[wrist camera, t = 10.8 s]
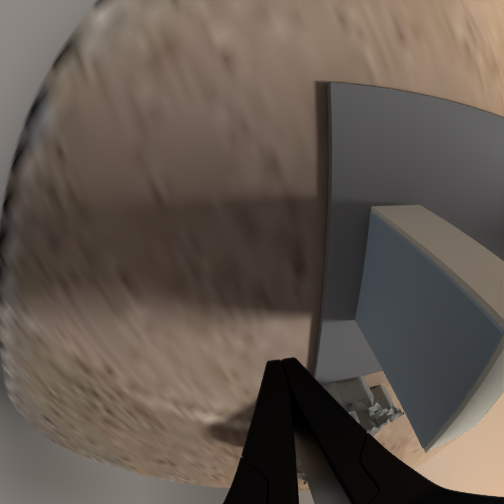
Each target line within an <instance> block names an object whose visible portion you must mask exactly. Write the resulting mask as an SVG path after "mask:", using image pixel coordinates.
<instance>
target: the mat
mask: <svg viewBox="0 0 504 504" xmlns="http://www.w3.org/2000/svg"><path fill="white" fill-rule="evenodd" d="M327 103H328V209H327V233H326V252H325V267H324V280H323V292H322V304H321V314H320V324H319V333H318V342H317V350H316V358H315V365H314V373H313V377H314V378H315V379H316V380H317V381H318V382H319V383H320V384H321V385H324V384H329V383H333V382H338V381H343V380H347V379H351V378H356V377H360V376H364V375H368V374H371V373H375V372H379V371H383V369H382V368H381V366H380V364H379V362H378V360H377V359H376V357H375V355H374V353H373V351H372V349H371V348H370V346H369V344H368V342H367V341H366V339H365V337H364V335H363V334H362V332H361V330H360V328H359V327H358V325H357V323H356V321H355V316H356V311H357V305H358V300H359V294H360V288H361V282H362V276H363V269H364V262H365V255H366V247H367V239H368V230H369V220H370V213H371V207H372V206H393V205H421V206H423V207H424V208H426V209H428V210H429V211H431V212H433V213H434V214H436V215H437V216H439V217H441V218H442V219H444V220H445V221H447V222H448V223H450V224H452V225H453V226H455V227H456V228H458V229H459V230H461V231H462V232H464V233H465V234H467V235H468V236H470V237H471V238H472V239H474V240H475V241H477V242H478V243H480V244H481V245H482V246H484V247H485V248H487V249H488V250H489V251H491V252H492V253H493V254H495V255H496V256H497V257H499V258H500V259H501V260H503V261H504V118H503V117H500V116H497V115H494V114H492V113H489V112H486V111H482V110H479V109H476V108H473V107H469V106H466V105H462V104H459V103H455V102H451V101H447V100H443V99H439V98H435V97H430V96H426V95H421V94H416V93H411V92H405V91H400V90H393V89H387V88H380V87H373V86H364V85H355V84H344V83H331V82H330V83H327Z"/></svg>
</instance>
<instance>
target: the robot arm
mask: <svg viewBox="0 0 504 504" xmlns="http://www.w3.org/2000/svg"><path fill="white" fill-rule="evenodd" d="M295 446H296V449H297V452H298V455H299V458H300V461H301V464H302V467H303V470H304V473H305V476H306V479H307V482H308V486H309V489H310V491H311V494H312V497H313V500H314V503H315V504H504V497H496V496H487V495H478V494H471V493H465V492H459V491H453V490H449V489H445V488H443V487H440V486H438V485H436V484H434V483H433V482H431V481H430V480H428V479H427V478H425V477H424V476H422V475H421V474H419V473H418V472H416V471H415V470H413V469H412V468H411V467H409V466H408V465H406V464H405V463H403V462H402V461H401V460H399V459H398V458H397V457H395V456H394V455H393V454H392V453H390V452H389V451H388V450H387V449H386V448H384V447H383V446H382V445H381V444H380V443H379V442H378V441H377V440H376V439H375V438H374V437H373V436H372V435H371V434H370V433H367V431H366V430H365V429H364V428H363V427H362V426H361V425H360V424H359V423H358V422H357V421H356V420H355V419H354V418H353V417H352V416H351V415H350V414H349V413H348V412H347V411H346V410H345V409H344V408H343V407H342V406H341V405H340V404H339V403H338V402H337V401H336V400H335V399H334V398H333V396H332V395H331V394H330V393H329V392H328V391H327V390H326V389H325V388H324V387H323V386H322V385H321V384H320V383H319V382H318V381H317V380H316V379H315V378H314V377H313V376H312V375H311V374H310V373H309V372H308V371H307V369H306V368H305V367H304V366H303V365H302V364H301V363H300V362H299V361H298V360H297V359H296V358H294V357H292V358H285V359H282V360H271V361H267V363H266V367H265V371H264V375H263V379H262V382H261V386H260V390H259V394H258V398H257V401H256V405H255V409H254V413H253V416H252V420H251V423H250V427H249V431H248V434H247V438H246V441H245V445H244V448H243V452H242V455H241V456H242V457H241V458H240V461H239V465H238V468H237V471H236V474H235V477H234V480H233V482H232V485H231V487H230V489H229V492H228V494H227V496H226V498H225V500H224V503H223V504H299V497H298V480H297V466H296V452H295Z"/></svg>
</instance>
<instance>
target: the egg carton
mask: <svg viewBox="0 0 504 504" xmlns="http://www.w3.org/2000/svg"><path fill="white" fill-rule="evenodd" d="M322 386H323V387H324V388H325V389H326V390H327V391H328V392H329V393H330V394H331V395H332V396H333V398H334V399H335V400H336V401H337V402H338V403H339V404H340V405H341V406H342V407H343V408H344V409H345V410H346V411H347V412H348V413H349V414H350V415H351V416H352V417H353V418H354V419H355V420H356V421H357V422H358V423H359V424H360V425H361V426H362V427H363V428H364V429H365V430H366V431H367V433H370V434H371V435H372V436H374V435H375V434H376V433H377V432H378V431H379V430H380V429H381V428H382V426H383V425H386V424H387V423H388V422H389V420H390V422H393V420H394V419H396V418H398V417H400V416H401V415H402V414H403V415H404V412H403V413H402V412H401V410H400V409H399V408H395V406H394V404H393V402H392V400H391V398H390V396H389V394H388V392H387V390H386V387H384V386H382V385H379V386H377V387H375V388H373V389H371V390H370V388H369V386H368V384H367V381H366V379H365V377H364V376H360V377H356V378H351V379H347V380H343V381H338V382H333V383H329V384H324V385H322ZM295 452H296V466H297V478H299V479H302V480H305V482H304V484H307V483H308V482H307V479H306V476H305V473H304V470H303V467H302V464H301V461H300V458H299V455H298V452H297V449H296V447H295Z"/></svg>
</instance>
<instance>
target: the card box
mask: <svg viewBox="0 0 504 504" xmlns="http://www.w3.org/2000/svg"><path fill="white" fill-rule="evenodd" d="M355 321H356V323H357V325H358V327H359V328H360V330H361V332H362V334H363V335H364V337H365V339H366V341H367V342H368V344H369V346H370V348H371V349H372V351H373V353H374V355H375V357H376V359H377V360H378V362H379V364H380V366H381V368H382V369H383V371H384V373H385V375H386V377H387V379H388V381H389V383H390V384H391V386H392V388H393V390H394V392H395V394H396V396H397V398H398V400H399V402H400V404H401V405H402V407H403V409H404V411H405V413H406V415H407V417H408V419H409V421H410V423H411V425H412V427H413V429H414V431H415V433H416V436H417V438H418V440H419V442H420V444H421V446H422V448H424V450H425V453H427V452H429V451H431V450H433V449H435V448H437V447H439V446H441V445H443V444H445V443H447V442H449V441H451V440H453V439H455V438H456V437H458V436H460V435H462V434H464V433H465V432H467V431H469V430H470V429H472V428H474V427H475V426H476V425H477V424H478V423H479V422H480V421H481V419H482V418H483V417H484V416H485V415H486V414H487V412H488V411H489V410H490V409H491V407H492V406H493V405H494V404H495V402H496V401H497V400H498V399H499V397H500V396H501V395H502V393H503V392H504V261H503V260H501V259H500V258H499V257H497V256H496V255H495V254H493V253H492V252H491V251H489V250H488V249H487V248H485V247H484V246H482V245H481V244H480V243H478V242H477V241H475V240H474V239H472V238H471V237H470V236H468V235H467V234H465V233H464V232H462V231H461V230H459V229H458V228H456V227H455V226H453V225H452V224H450V223H448V222H447V221H445V220H444V219H442V218H441V217H439V216H437V215H436V214H434V213H433V212H431V211H429V210H428V209H426V208H424V207H423V206H421V205H393V206H372V207H371V213H370V220H369V230H368V239H367V247H366V255H365V262H364V269H363V276H362V282H361V288H360V294H359V300H358V305H357V311H356V316H355Z"/></svg>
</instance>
